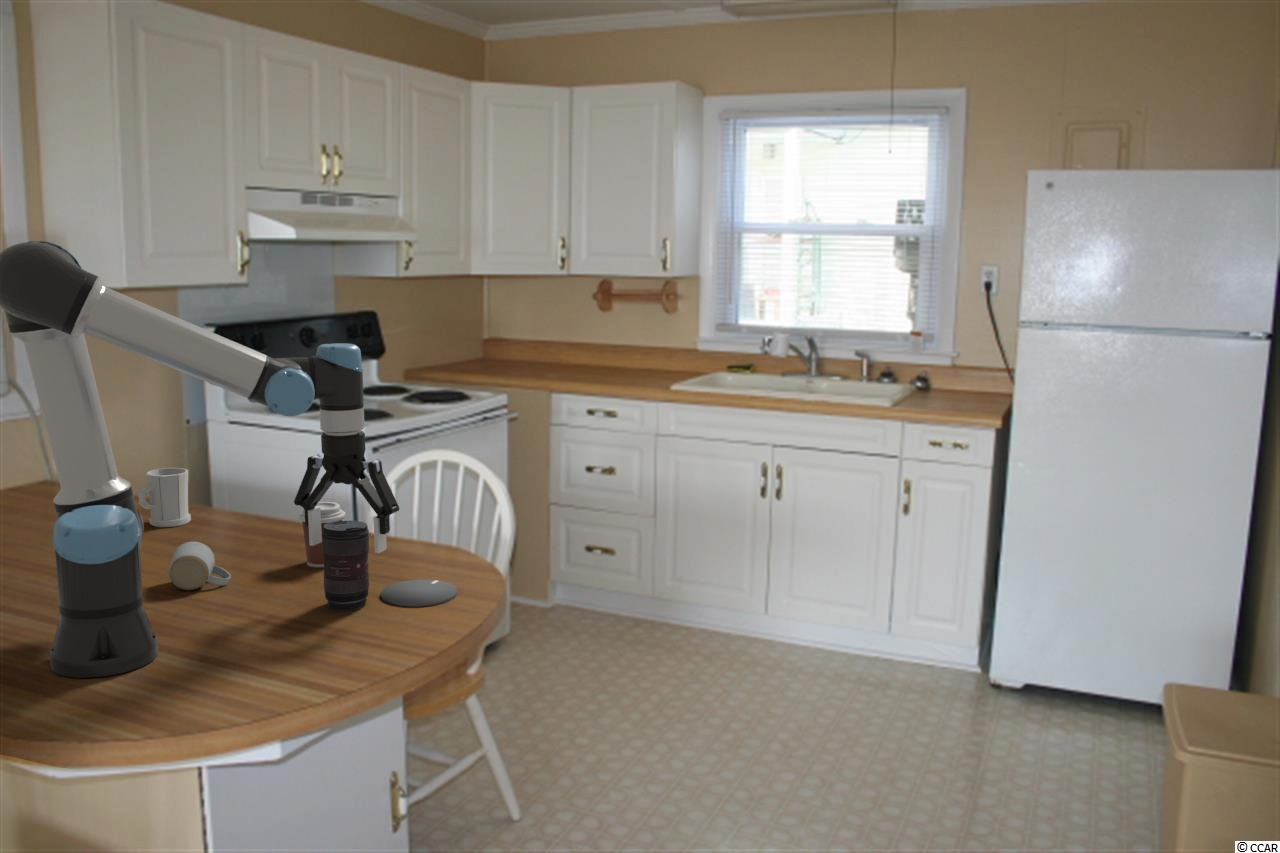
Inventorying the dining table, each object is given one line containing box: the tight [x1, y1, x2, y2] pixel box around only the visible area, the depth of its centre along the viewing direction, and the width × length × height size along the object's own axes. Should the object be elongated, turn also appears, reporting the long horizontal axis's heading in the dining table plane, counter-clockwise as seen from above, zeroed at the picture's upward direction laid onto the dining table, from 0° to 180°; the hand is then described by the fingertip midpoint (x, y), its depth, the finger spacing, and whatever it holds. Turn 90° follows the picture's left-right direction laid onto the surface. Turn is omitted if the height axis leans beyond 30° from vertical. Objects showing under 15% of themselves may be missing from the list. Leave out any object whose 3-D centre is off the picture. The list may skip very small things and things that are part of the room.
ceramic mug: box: [168, 541, 232, 591], centre depth 206 cm, size 11×8×8 cm
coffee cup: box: [298, 501, 346, 568], centre depth 221 cm, size 9×9×12 cm
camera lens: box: [322, 520, 370, 612], centre depth 196 cm, size 8×8×15 cm
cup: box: [137, 467, 192, 528], centre depth 248 cm, size 10×9×12 cm
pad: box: [380, 579, 458, 608], centre depth 204 cm, size 14×14×1 cm
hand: (348, 547), depth 196 cm, fingers open, 13 cm apart
